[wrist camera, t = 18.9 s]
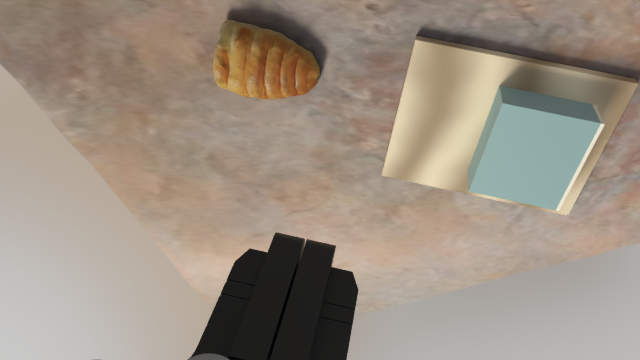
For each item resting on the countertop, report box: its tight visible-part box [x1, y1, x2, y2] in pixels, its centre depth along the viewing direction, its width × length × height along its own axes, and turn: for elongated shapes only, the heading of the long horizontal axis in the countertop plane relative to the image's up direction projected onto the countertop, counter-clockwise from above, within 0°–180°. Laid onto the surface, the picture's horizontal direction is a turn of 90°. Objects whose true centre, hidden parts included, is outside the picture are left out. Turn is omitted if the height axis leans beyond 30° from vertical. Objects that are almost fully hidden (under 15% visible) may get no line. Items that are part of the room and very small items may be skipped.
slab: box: [467, 85, 605, 211], centre depth 46 cm, size 3×9×8 cm
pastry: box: [213, 20, 320, 99], centre depth 48 cm, size 9×7×4 cm
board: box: [382, 35, 639, 216], centre depth 48 cm, size 18×14×1 cm
